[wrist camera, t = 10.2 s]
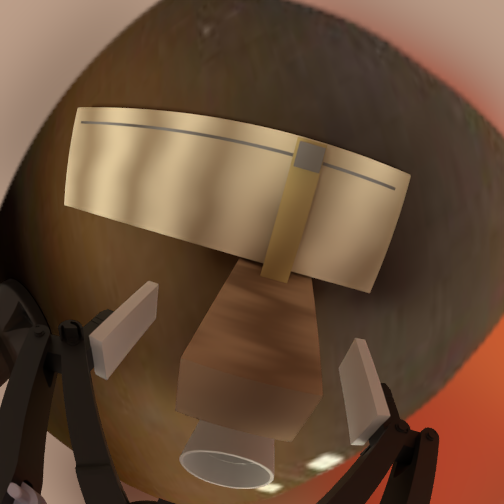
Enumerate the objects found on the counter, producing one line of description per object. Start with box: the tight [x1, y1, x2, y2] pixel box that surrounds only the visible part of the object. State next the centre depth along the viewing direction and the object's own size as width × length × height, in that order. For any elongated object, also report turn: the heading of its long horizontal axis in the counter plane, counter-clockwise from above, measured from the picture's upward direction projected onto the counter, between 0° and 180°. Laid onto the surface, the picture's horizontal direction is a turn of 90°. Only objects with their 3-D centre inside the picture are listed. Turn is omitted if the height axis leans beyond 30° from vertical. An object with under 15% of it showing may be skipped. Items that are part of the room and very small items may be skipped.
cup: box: [179, 420, 274, 489], centre depth 22 cm, size 8×8×12 cm
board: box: [64, 107, 411, 293], centre depth 21 cm, size 30×10×2 cm, turn 76°
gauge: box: [175, 137, 328, 442], centre depth 16 cm, size 6×14×14 cm, turn 166°
